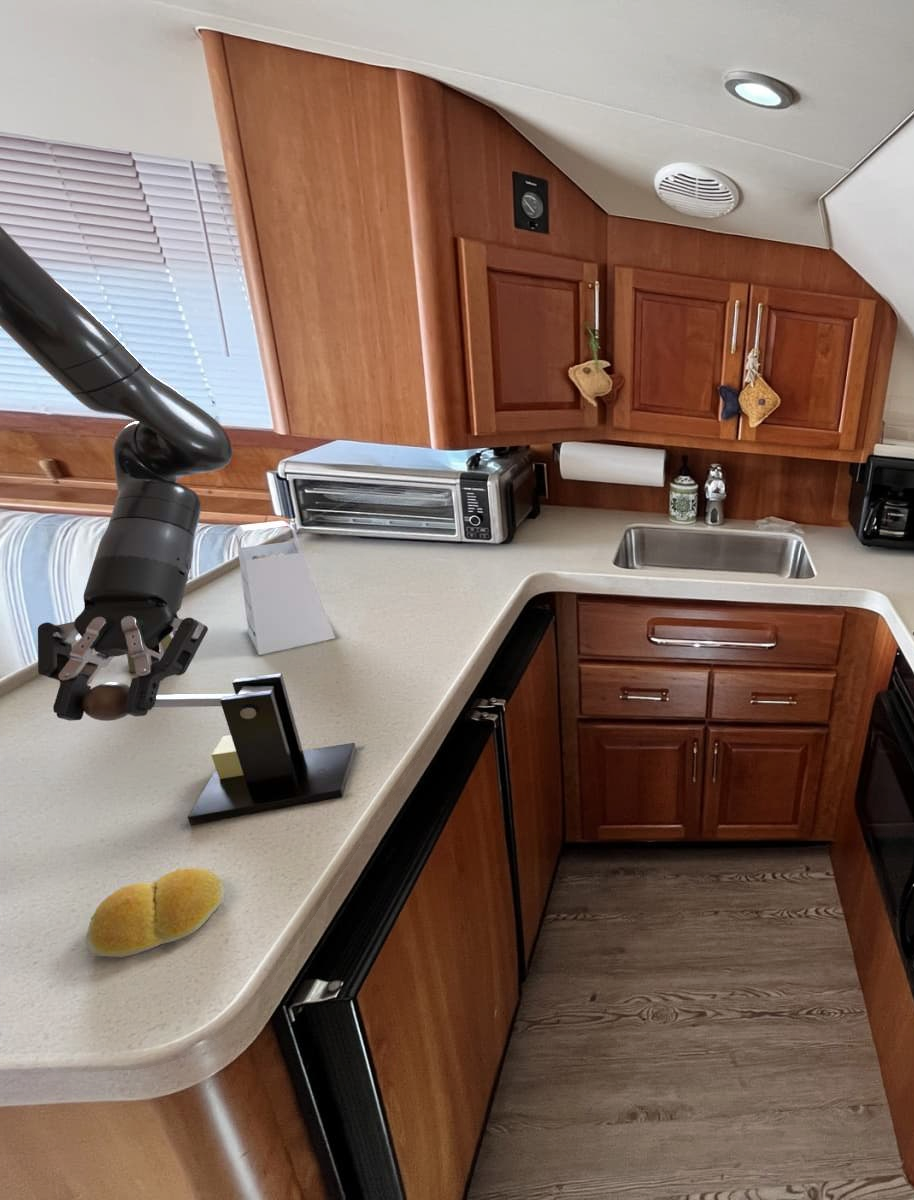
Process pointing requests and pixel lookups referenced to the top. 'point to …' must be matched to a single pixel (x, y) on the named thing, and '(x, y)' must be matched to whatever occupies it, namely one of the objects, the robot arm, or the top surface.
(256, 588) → the grater
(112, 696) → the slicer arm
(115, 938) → the bread roll
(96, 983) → the top surface
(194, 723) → the top surface
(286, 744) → the slicer
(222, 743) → the butter
